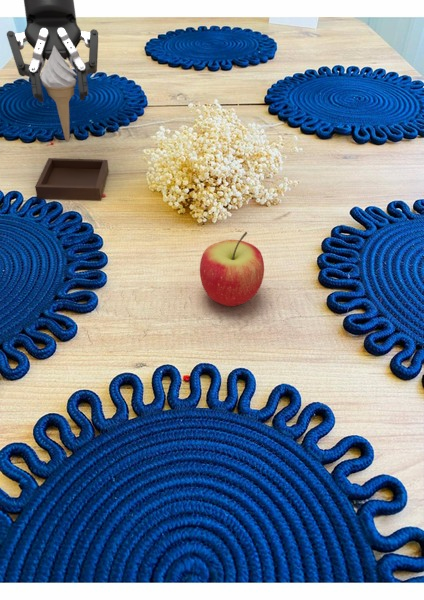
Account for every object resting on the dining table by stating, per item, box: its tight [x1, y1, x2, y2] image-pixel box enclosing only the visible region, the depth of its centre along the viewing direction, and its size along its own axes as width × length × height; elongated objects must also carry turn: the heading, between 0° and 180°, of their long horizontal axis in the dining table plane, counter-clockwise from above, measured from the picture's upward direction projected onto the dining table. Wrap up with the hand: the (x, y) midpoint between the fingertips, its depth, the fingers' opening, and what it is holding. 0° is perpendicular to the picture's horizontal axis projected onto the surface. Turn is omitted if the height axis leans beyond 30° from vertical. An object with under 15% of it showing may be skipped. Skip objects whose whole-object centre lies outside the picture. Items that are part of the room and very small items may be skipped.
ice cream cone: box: [40, 46, 78, 142], centre depth 83 cm, size 6×6×15 cm
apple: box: [199, 231, 265, 307], centre depth 68 cm, size 8×8×10 cm
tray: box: [34, 157, 110, 201], centre depth 93 cm, size 11×11×2 cm
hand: (61, 98), depth 82 cm, fingers closed on ice cream cone, 5 cm apart
